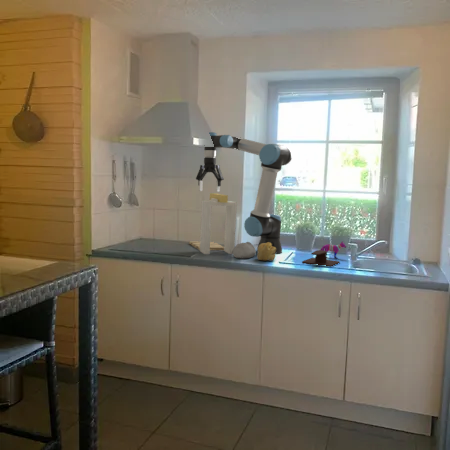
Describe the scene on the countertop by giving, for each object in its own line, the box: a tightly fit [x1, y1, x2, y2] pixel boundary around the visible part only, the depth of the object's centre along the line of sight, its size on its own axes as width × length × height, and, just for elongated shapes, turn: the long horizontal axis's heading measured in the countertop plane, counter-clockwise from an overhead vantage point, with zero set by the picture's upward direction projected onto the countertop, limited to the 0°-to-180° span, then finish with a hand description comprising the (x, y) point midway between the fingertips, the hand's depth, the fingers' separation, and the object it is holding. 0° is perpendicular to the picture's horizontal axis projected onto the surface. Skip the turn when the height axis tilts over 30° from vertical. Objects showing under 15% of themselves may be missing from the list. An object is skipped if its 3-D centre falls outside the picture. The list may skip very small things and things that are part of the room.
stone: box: [256, 242, 276, 262], centre depth 261 cm, size 13×10×10 cm
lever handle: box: [301, 249, 341, 267], centre depth 259 cm, size 16×7×20 cm
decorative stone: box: [231, 241, 257, 260], centre depth 268 cm, size 17×10×10 cm
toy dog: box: [319, 241, 347, 259], centre depth 280 cm, size 4×18×10 cm, turn 66°
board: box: [188, 240, 224, 251], centre depth 298 cm, size 26×16×2 cm, turn 18°
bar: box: [209, 192, 229, 203], centre depth 277 cm, size 22×4×4 cm, turn 18°
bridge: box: [199, 198, 238, 255], centre depth 277 cm, size 10×18×32 cm, turn 108°
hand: (209, 191), depth 301 cm, fingers open, 13 cm apart
